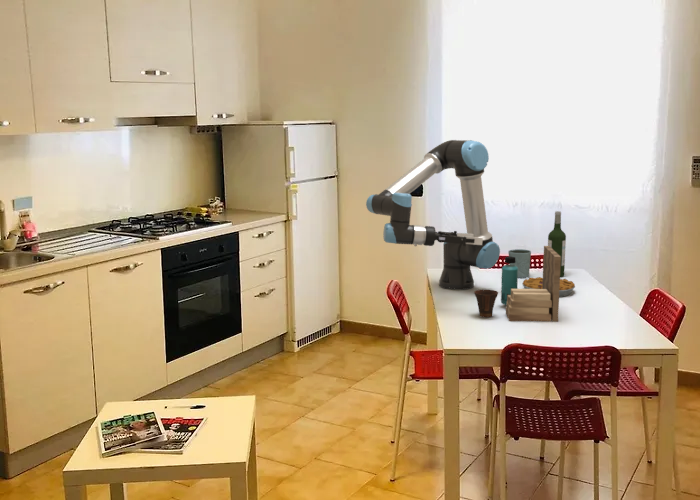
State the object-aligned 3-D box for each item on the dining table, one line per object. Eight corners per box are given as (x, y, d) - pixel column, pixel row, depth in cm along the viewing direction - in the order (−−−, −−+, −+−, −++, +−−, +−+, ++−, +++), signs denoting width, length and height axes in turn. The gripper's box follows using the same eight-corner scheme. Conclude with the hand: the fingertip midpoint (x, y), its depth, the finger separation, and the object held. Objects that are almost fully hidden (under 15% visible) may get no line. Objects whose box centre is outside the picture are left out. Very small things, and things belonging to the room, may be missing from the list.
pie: (524, 284, 330) (525, 273, 330) (576, 288, 323) (576, 276, 322) (518, 296, 310) (519, 284, 309) (573, 300, 303) (574, 288, 302)
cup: (484, 319, 273) (483, 292, 272) (469, 317, 281) (469, 290, 280) (503, 317, 277) (503, 290, 276) (488, 314, 285) (488, 288, 284)
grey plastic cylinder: (532, 278, 341) (533, 253, 338) (510, 279, 341) (510, 253, 339) (527, 274, 351) (528, 248, 348) (505, 274, 351) (506, 249, 349)
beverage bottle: (518, 305, 295) (519, 255, 291) (516, 309, 288) (517, 258, 285) (501, 304, 297) (503, 254, 293) (499, 308, 291) (500, 257, 287)
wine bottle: (545, 273, 351) (548, 210, 345) (562, 274, 350) (565, 210, 344) (547, 277, 343) (550, 212, 338) (565, 277, 342) (568, 212, 337)
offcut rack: (501, 305, 295) (503, 245, 290) (546, 305, 294) (549, 245, 289) (509, 320, 273) (511, 256, 269) (558, 321, 272) (560, 256, 267)
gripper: (417, 241, 300) (468, 245, 303) (429, 249, 276) (485, 253, 278) (418, 223, 299) (470, 226, 302) (431, 229, 275) (487, 233, 277)
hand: (477, 239), depth 290 cm, fingers open, 13 cm apart
